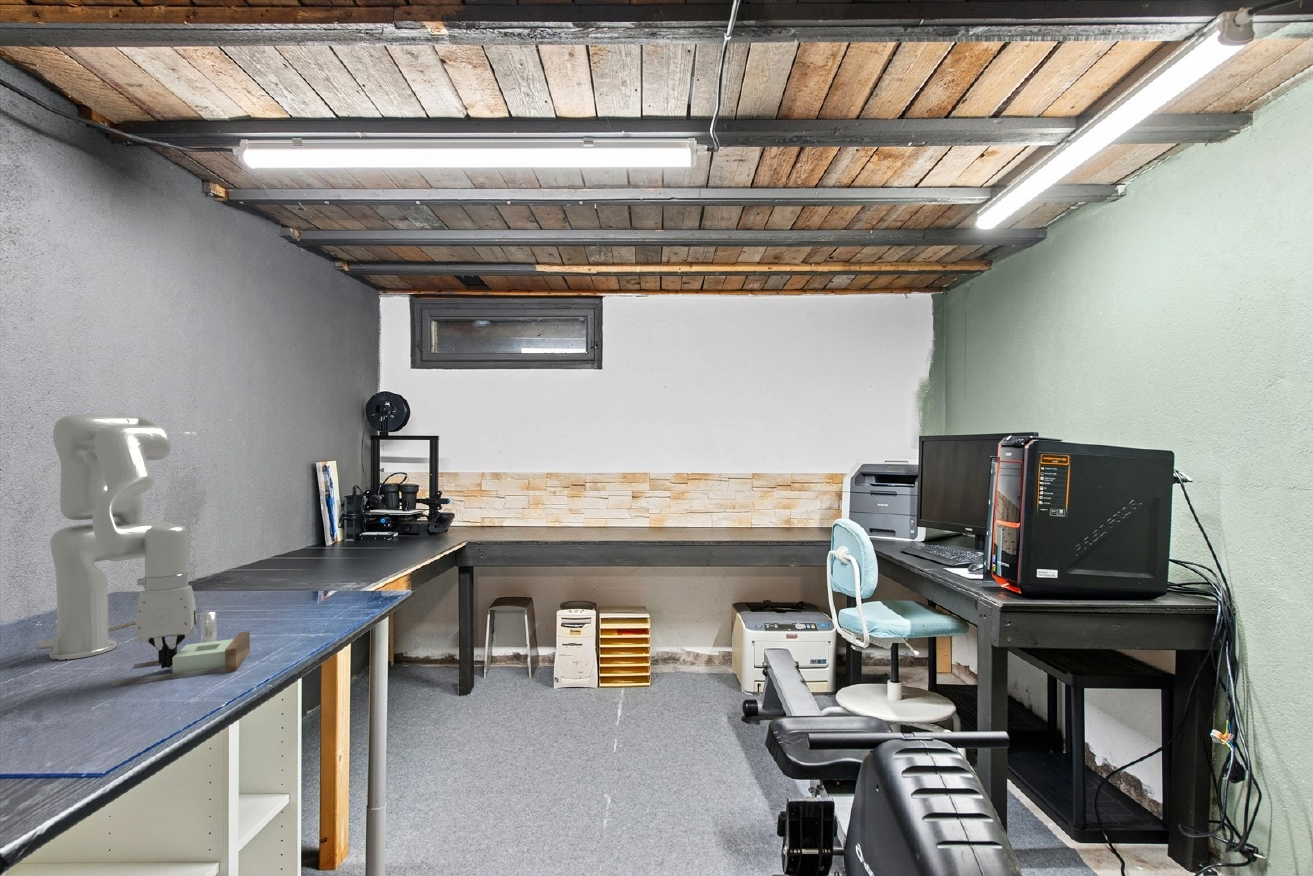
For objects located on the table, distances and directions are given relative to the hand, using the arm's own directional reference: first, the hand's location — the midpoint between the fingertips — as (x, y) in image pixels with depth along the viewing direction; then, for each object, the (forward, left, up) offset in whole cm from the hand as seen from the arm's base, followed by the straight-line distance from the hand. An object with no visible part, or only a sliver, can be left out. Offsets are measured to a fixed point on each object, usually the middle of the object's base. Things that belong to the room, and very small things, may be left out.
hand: (168, 665), depth 142 cm
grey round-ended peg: (+4, +15, -2) cm, 16 cm away
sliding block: (+7, 0, -1) cm, 7 cm away
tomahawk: (-25, +54, -3) cm, 60 cm away
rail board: (+1, 0, -2) cm, 3 cm away
